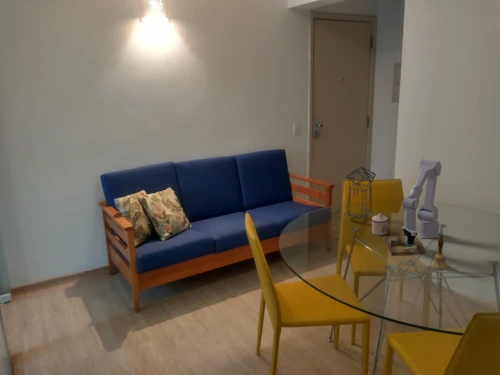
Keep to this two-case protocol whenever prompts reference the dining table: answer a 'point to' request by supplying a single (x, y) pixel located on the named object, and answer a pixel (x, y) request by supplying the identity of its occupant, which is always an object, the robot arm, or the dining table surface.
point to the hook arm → (395, 241)
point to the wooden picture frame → (393, 251)
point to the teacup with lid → (379, 225)
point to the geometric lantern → (361, 188)
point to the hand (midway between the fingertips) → (409, 242)
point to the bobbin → (407, 242)
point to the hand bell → (439, 257)
